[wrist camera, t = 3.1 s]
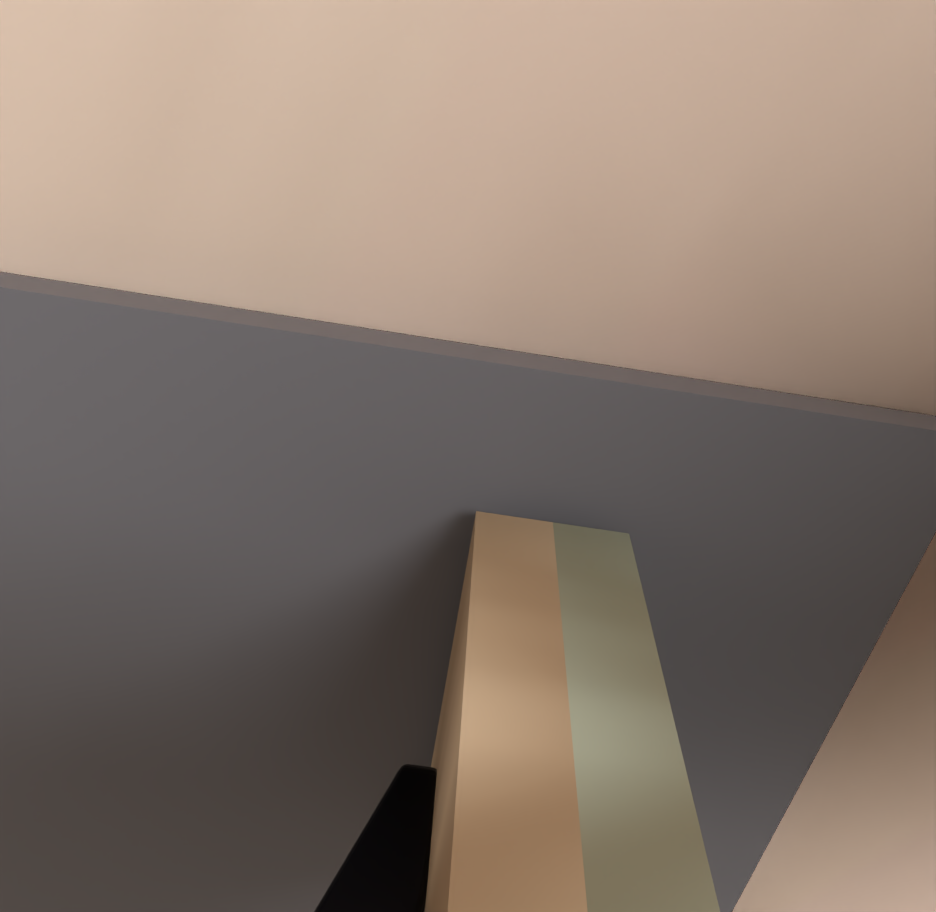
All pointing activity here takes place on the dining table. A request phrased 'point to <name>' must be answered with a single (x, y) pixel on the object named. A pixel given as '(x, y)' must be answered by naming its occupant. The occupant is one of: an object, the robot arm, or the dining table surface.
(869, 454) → the mat
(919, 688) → the dining table surface
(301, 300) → the dining table surface
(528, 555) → the tile
